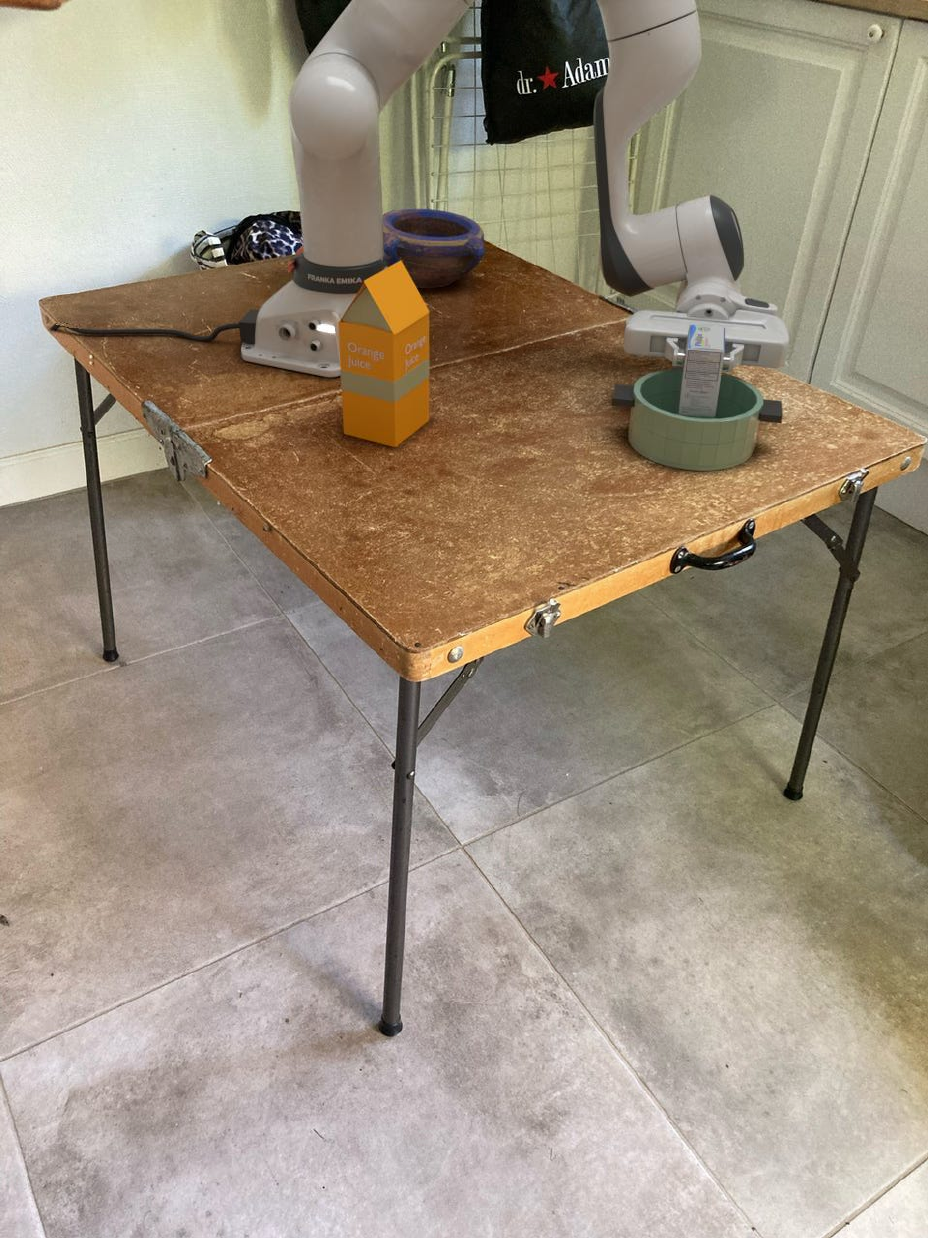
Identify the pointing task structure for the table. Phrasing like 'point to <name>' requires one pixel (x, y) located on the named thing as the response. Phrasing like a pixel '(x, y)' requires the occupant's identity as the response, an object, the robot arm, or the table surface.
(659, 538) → the table surface
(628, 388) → the pot handles
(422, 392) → the orange juice
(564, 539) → the table surface
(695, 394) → the medicine box
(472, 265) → the bowl
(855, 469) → the table surface
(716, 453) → the pot
